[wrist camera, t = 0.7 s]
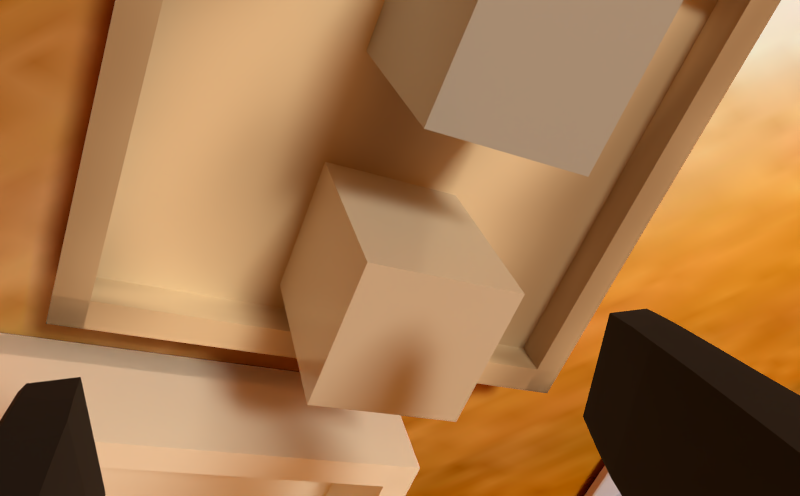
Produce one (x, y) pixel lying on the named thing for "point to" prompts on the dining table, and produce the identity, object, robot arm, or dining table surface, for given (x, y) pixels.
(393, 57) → the grey rectangular prism
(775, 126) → the dining table surface
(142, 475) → the pale wooden open box
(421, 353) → the beige cuboid
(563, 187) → the beech tray
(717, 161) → the dining table surface
